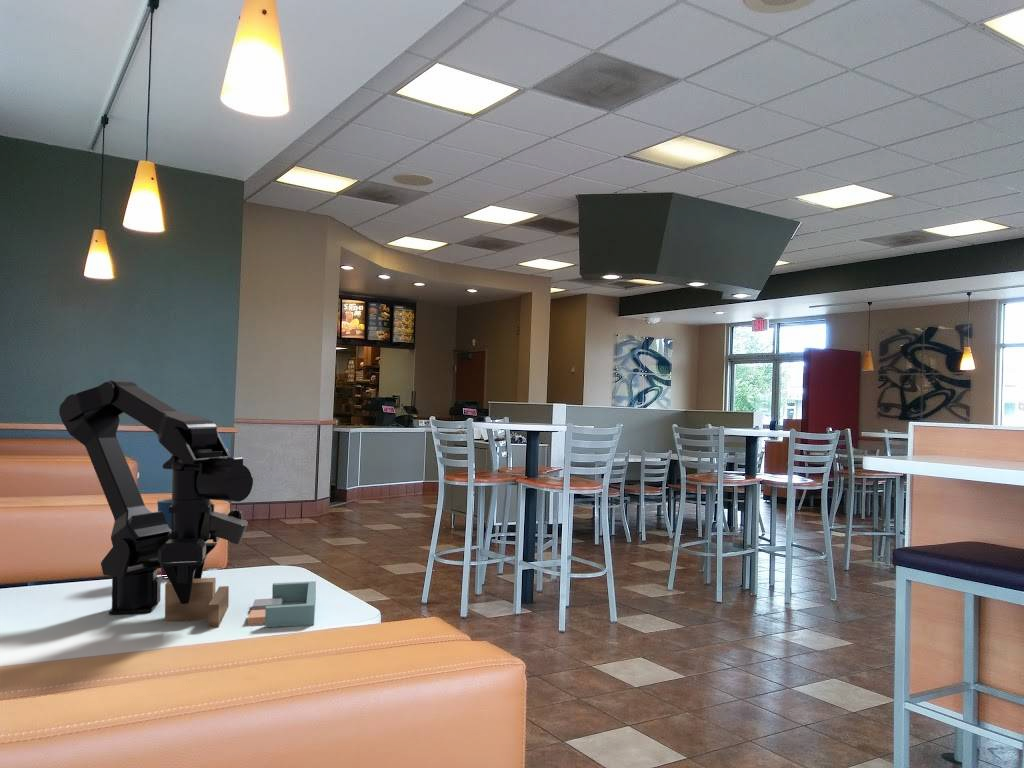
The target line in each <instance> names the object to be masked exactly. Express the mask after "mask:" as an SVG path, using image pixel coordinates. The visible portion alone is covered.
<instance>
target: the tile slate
mask: <svg viewBox="0 0 1024 768" xmlns="http://www.w3.org/2000/svg"><path fill="white" fill-rule="evenodd" d="M277 605H283V602H282V598H255V599H254V600H253V604H252V610H265V608H266V606H277Z"/></svg>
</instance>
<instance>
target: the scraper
mask: <svg viewBox="0 0 1024 768" xmlns="http://www.w3.org/2000/svg"><path fill="white" fill-rule="evenodd" d="M164 588H165V590H164V594H165V595H164V623H181V622H183V623H184V622H196V621H207V628H208V629H209V628H210V629H212V628H214V629H215V628H219V627H220V625H221V623H222V621H223V619H224V617H225V615H226V612H227V611H228V609H229V603H230V602H229V601H230V600H229V596H230V595H229V591H230V590H229V589H230V587H229V585H226V586H225V585H223V586H222V585H221V586H218V588H217V589H216V577H201V578H198V579H193V585H192V590H191V595H190V600H189V603H188V604H181V603H180V601H179V598H178V596H177V594H176V592H175V590H174V588H173V586H172V584H171V582H170V580H169V579H168V580H167V582H166V583H165V585H164Z"/></svg>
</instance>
